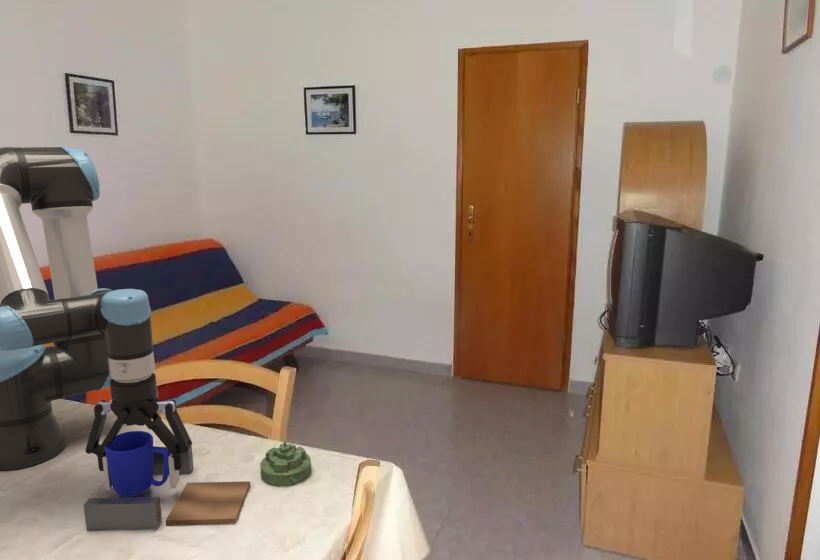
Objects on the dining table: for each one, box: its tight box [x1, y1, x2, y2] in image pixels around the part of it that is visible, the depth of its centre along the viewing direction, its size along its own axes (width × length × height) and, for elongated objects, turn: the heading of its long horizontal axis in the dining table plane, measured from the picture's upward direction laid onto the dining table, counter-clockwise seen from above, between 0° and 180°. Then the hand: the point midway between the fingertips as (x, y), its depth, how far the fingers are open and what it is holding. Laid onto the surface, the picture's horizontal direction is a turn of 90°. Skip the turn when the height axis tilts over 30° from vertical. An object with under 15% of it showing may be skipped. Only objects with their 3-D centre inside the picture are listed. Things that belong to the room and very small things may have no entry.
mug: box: [104, 430, 170, 497], centre depth 111 cm, size 8×12×10 cm
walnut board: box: [165, 480, 251, 526], centre depth 110 cm, size 12×12×1 cm
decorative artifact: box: [259, 441, 312, 488], centre depth 120 cm, size 10×7×10 cm
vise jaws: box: [83, 445, 194, 532], centre depth 113 cm, size 23×12×5 cm, turn 3°
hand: (143, 484), depth 112 cm, fingers closed on mug, 11 cm apart
